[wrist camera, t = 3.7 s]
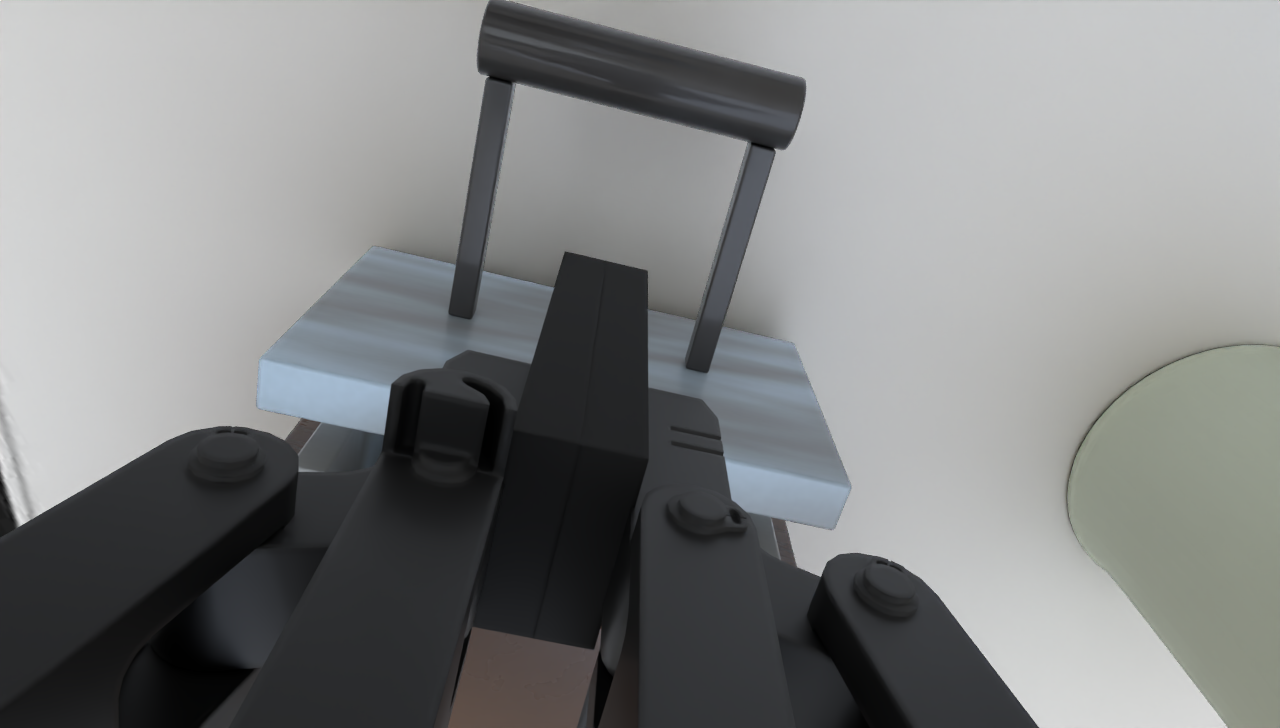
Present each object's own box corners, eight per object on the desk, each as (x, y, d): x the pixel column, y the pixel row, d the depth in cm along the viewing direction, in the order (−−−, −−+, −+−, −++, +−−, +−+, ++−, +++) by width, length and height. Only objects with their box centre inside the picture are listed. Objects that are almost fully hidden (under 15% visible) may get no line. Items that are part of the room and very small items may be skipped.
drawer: (405, -35, 21) (282, -40, 14) (882, 90, 22) (994, 144, 15) (326, 635, 30) (225, 842, 23) (670, 700, 31) (678, 916, 24)
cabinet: (346, 359, 26) (198, 548, 18) (768, 451, 28) (824, 671, 19) (306, 720, 33) (181, 992, 24) (651, 782, 34) (652, 1062, 25)
